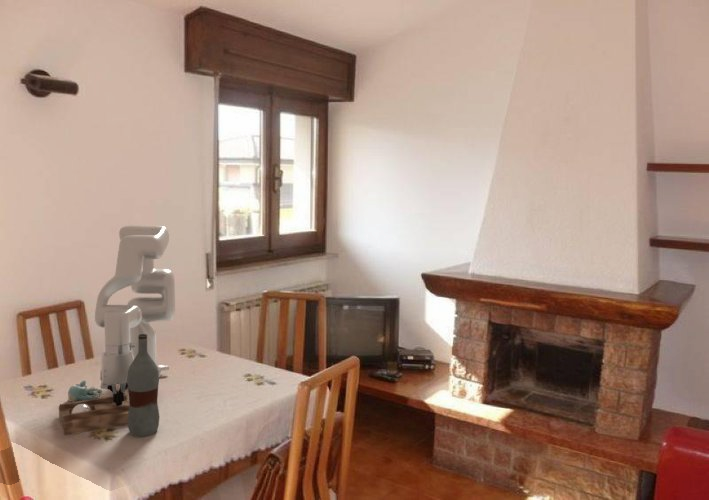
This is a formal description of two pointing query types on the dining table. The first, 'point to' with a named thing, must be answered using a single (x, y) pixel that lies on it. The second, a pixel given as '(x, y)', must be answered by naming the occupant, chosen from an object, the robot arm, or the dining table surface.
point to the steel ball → (81, 408)
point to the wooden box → (93, 415)
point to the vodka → (143, 392)
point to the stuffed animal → (82, 392)
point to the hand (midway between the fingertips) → (118, 403)
